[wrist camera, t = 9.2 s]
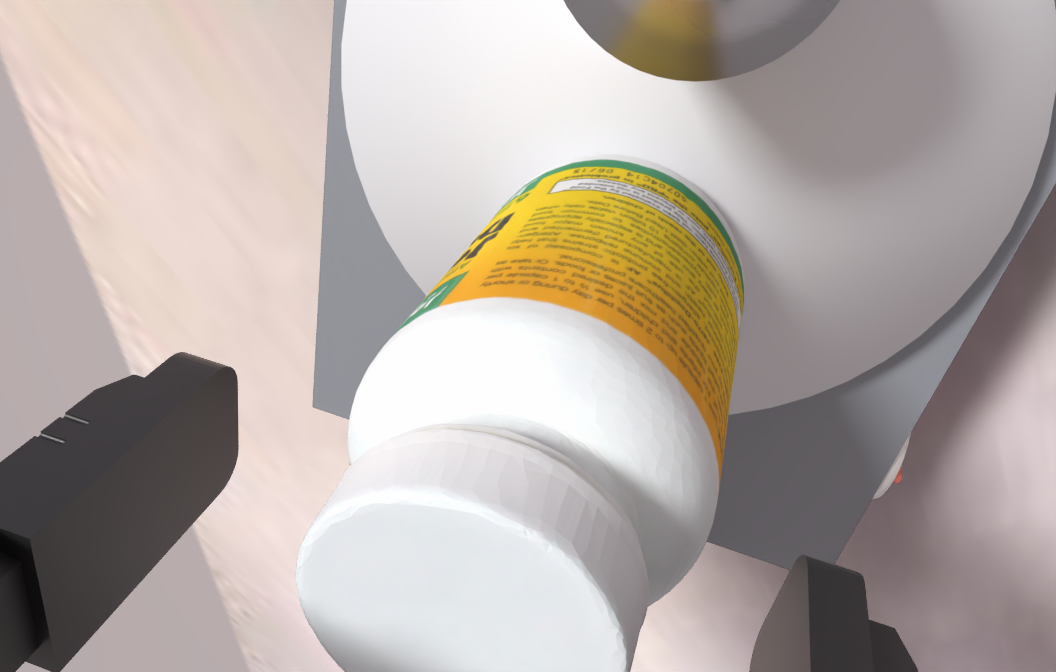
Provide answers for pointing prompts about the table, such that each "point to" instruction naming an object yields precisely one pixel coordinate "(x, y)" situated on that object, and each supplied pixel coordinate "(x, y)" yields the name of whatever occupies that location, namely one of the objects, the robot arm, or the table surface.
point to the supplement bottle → (537, 436)
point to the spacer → (699, 33)
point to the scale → (737, 192)
